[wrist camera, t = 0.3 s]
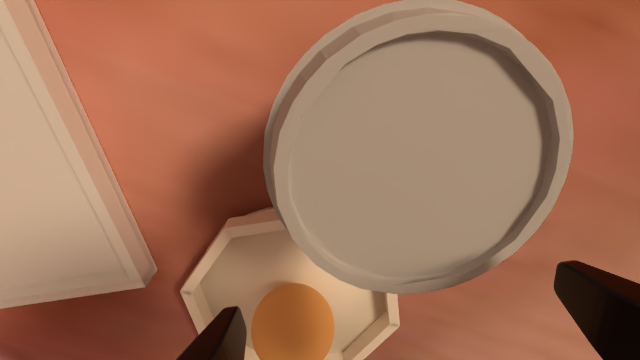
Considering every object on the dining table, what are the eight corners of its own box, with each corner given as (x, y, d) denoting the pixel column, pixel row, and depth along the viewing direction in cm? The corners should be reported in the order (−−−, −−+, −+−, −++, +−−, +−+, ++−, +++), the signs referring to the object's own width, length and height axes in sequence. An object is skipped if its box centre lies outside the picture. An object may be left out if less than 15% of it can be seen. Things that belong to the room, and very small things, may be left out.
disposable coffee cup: (269, 151, 21) (222, 264, 10) (316, 2, 17) (324, -87, 6) (394, 193, 22) (477, 331, 11) (460, 62, 19) (670, 75, 8)
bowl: (396, 342, 28) (402, 365, 26) (229, 365, 29) (222, 389, 27) (382, 189, 22) (390, 203, 20) (170, 222, 23) (156, 239, 21)
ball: (336, 317, 26) (343, 390, 20) (267, 327, 26) (255, 401, 20) (325, 261, 23) (330, 325, 18) (250, 272, 24) (231, 339, 18)
